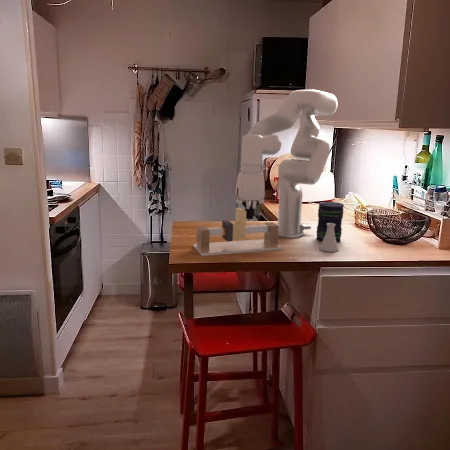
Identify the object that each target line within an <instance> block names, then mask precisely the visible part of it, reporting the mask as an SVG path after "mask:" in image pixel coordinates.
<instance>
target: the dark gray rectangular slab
mask: <svg viewBox="0 0 450 450" xmlns="http://www.w3.org/2000/svg"><path fill="white" fill-rule="evenodd" d="M221 221H222V223H221V224H222V225H221V227H226V235H224V236H223V235H221V238H222V239H224V240H225V242H229V241H234V240H233V224H232V223H231V222H229V220H226V219H225V220H221Z"/></svg>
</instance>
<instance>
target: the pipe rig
mask: <svg viewBox="0 0 450 450" xmlns="http://www.w3.org/2000/svg"><path fill="white" fill-rule="evenodd" d="M278 230H279V226H278V224H276V223H275V222H273V221H272V222H271V221H270V222H268V221H267V222H264V224H251V225H250V224H249V225H246V228H245V235H247V234H261V233H264V238H262V239H260V238H259V239H248V240H246V239H243V240H233V241H229V242H227V241H217V242H210V237H212V236H213V237H214V236H222V235H223V236H224V235H226V227H222V226H218V227H216V226H215V227H207V226H206V225H201V226H200V225H197V226H196V243H194V244H193V248H194V249H195V250H196V251H197V252H198V253H199V255H201V257H208V256H219V255H231V254H246V253H258V252H260V253H261V252H272V251H282V250H283V246H282V245H279V244H278V243H279V236H278Z"/></svg>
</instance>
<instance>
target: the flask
mask: <svg viewBox="0 0 450 450" xmlns="http://www.w3.org/2000/svg"><path fill="white" fill-rule="evenodd" d="M334 226H335V224H333V223H327V231H326V235H325V237H324V239H323V241H322V242H321V244H320V246H319V250H320V251H324V252H328V253H329V252H330V253H335V252H339V246H338V243H337V242H336V238H335V234H334Z"/></svg>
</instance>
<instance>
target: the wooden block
mask: <svg viewBox="0 0 450 450" xmlns="http://www.w3.org/2000/svg"><path fill="white" fill-rule="evenodd" d="M234 212H235V214H234V216H235V217H234V218H235V220H231V221H229V220H228V221H229V222H231V223H232V224H233V241H239V240H246V234H245V228H246V226H247V218H246V210H245V208H242V207H235V211H234Z"/></svg>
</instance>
